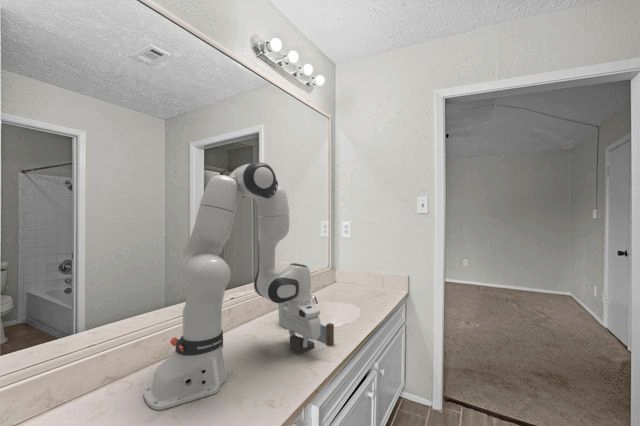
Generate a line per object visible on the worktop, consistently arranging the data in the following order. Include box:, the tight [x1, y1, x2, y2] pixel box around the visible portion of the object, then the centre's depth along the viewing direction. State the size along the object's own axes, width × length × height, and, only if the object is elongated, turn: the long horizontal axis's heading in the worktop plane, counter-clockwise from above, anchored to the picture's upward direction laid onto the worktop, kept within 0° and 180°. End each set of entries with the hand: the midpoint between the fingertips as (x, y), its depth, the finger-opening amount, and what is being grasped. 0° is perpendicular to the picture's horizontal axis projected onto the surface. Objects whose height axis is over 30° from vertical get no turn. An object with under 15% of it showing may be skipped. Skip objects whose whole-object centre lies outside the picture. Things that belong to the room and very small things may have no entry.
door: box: [317, 323, 326, 343], centre depth 123 cm, size 2×15×6 cm, turn 43°
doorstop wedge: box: [289, 334, 315, 355], centre depth 112 cm, size 8×5×5 cm, turn 132°
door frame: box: [325, 322, 335, 347], centre depth 122 cm, size 2×21×8 cm, turn 43°
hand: (298, 343), depth 111 cm, fingers closed on doorstop wedge, 5 cm apart
